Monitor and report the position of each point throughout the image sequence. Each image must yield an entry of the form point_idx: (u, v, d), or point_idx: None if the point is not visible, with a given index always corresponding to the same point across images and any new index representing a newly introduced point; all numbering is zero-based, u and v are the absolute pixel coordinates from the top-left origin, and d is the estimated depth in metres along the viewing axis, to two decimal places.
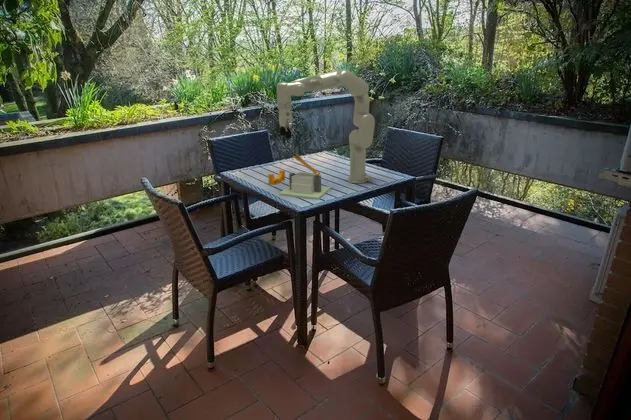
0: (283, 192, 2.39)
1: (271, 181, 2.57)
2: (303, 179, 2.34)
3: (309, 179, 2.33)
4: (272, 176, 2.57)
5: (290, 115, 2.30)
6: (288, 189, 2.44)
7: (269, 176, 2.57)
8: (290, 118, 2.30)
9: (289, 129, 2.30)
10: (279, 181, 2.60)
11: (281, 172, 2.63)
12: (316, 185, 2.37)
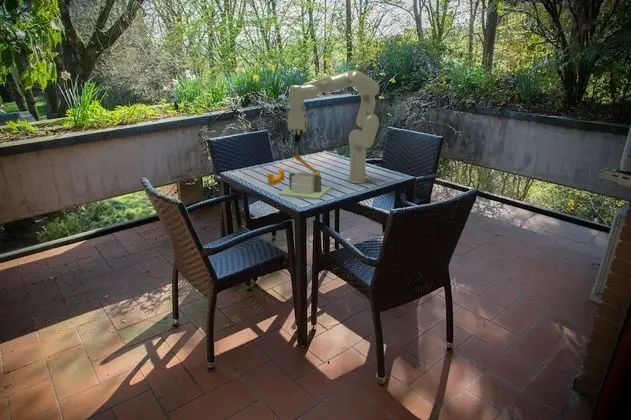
0: (283, 192, 2.39)
1: (271, 181, 2.57)
2: (303, 179, 2.34)
3: (309, 179, 2.33)
4: (272, 176, 2.57)
5: (306, 117, 2.32)
6: (288, 189, 2.44)
7: (269, 176, 2.57)
8: (306, 120, 2.32)
9: (301, 132, 2.34)
10: (278, 181, 2.60)
11: (280, 172, 2.64)
12: (316, 185, 2.37)
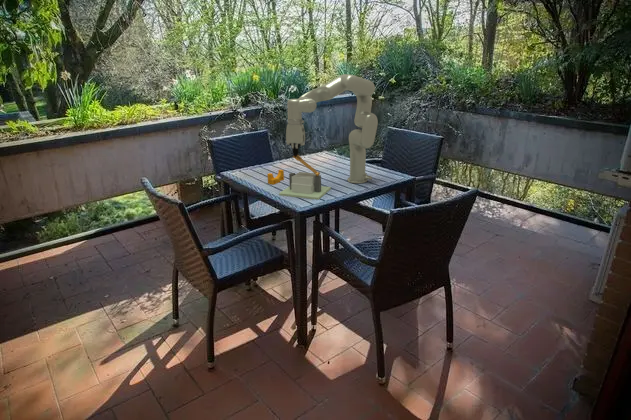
0: (283, 192, 2.39)
1: (270, 181, 2.58)
2: (303, 179, 2.34)
3: (309, 179, 2.33)
4: (271, 176, 2.57)
5: (304, 131, 2.31)
6: (288, 189, 2.44)
7: (268, 176, 2.57)
8: (304, 133, 2.32)
9: (299, 146, 2.34)
10: (278, 181, 2.61)
11: (280, 172, 2.64)
12: (316, 185, 2.37)
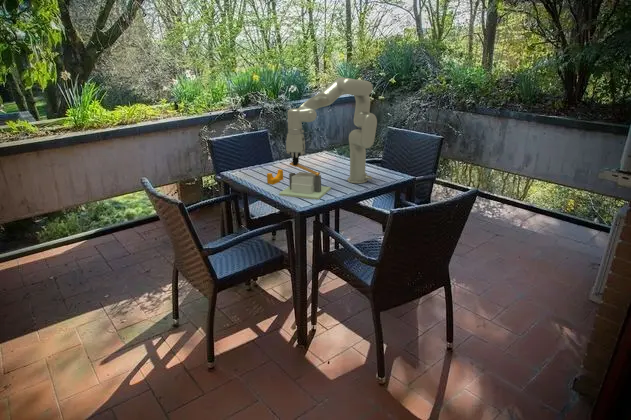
0: (283, 192, 2.39)
1: (270, 181, 2.58)
2: (303, 179, 2.34)
3: (309, 179, 2.33)
4: (271, 176, 2.58)
5: (304, 140, 2.33)
6: (288, 189, 2.44)
7: (268, 176, 2.58)
8: (304, 143, 2.34)
9: (299, 155, 2.36)
10: (278, 181, 2.61)
11: (279, 172, 2.65)
12: (316, 185, 2.37)
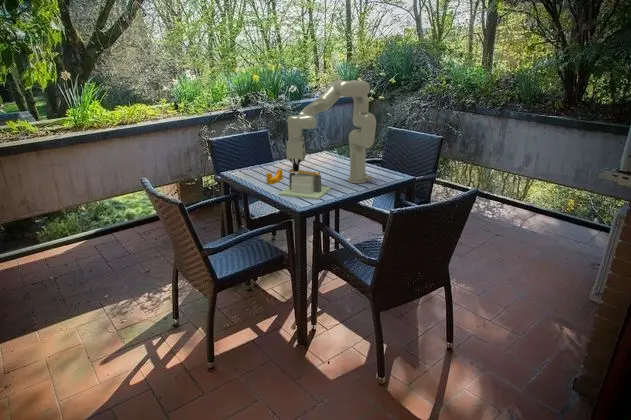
0: (283, 192, 2.39)
1: (269, 180, 2.58)
2: (303, 179, 2.34)
3: (309, 179, 2.33)
4: (270, 175, 2.58)
5: (304, 147, 2.35)
6: (288, 189, 2.44)
7: (267, 176, 2.58)
8: (304, 150, 2.35)
9: None
10: (277, 180, 2.61)
11: (279, 171, 2.65)
12: (316, 185, 2.37)
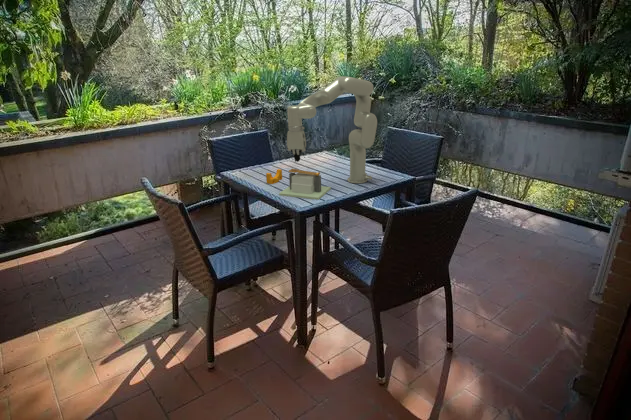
0: (283, 192, 2.39)
1: (269, 180, 2.58)
2: (303, 179, 2.34)
3: (309, 179, 2.33)
4: (270, 175, 2.58)
5: None
6: (288, 189, 2.44)
7: (267, 175, 2.58)
8: (305, 140, 2.33)
9: None
10: (277, 180, 2.62)
11: (278, 171, 2.65)
12: (316, 185, 2.37)
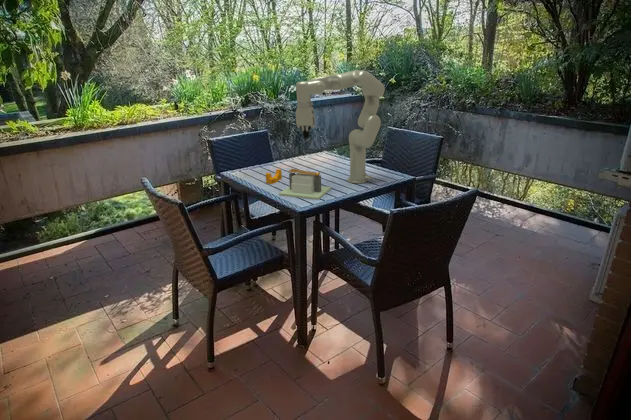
0: (283, 192, 2.39)
1: (269, 180, 2.59)
2: (303, 179, 2.34)
3: (309, 179, 2.33)
4: (269, 175, 2.58)
5: None
6: (288, 189, 2.44)
7: (266, 175, 2.59)
8: (314, 116, 2.33)
9: (310, 128, 2.35)
10: (276, 180, 2.62)
11: (278, 171, 2.65)
12: (316, 185, 2.37)
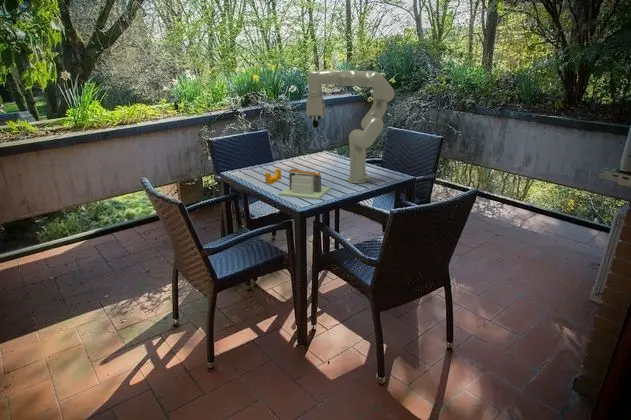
0: (283, 192, 2.39)
1: (268, 180, 2.59)
2: (303, 179, 2.34)
3: (309, 179, 2.33)
4: (269, 175, 2.59)
5: (324, 103, 2.35)
6: (288, 189, 2.44)
7: (266, 175, 2.59)
8: (324, 106, 2.36)
9: (319, 118, 2.38)
10: (276, 180, 2.62)
11: (277, 171, 2.66)
12: (316, 185, 2.37)
